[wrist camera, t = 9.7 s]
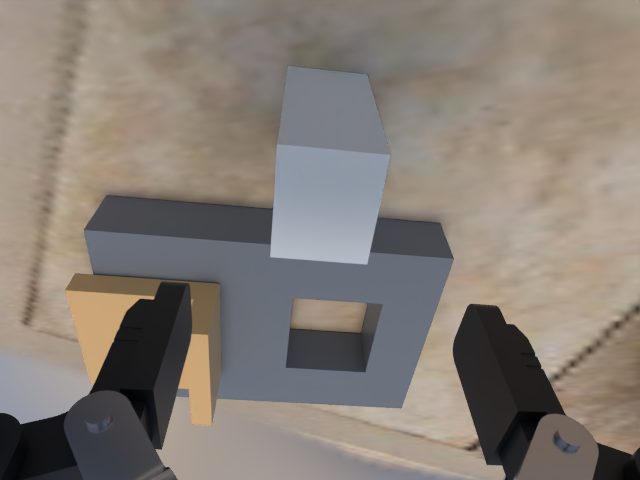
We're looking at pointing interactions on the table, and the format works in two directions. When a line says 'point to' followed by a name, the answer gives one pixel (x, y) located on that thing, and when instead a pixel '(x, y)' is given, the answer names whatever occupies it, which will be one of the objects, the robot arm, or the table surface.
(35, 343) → the table surface
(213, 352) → the tan l-shaped block
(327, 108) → the plug
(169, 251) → the socket plate
